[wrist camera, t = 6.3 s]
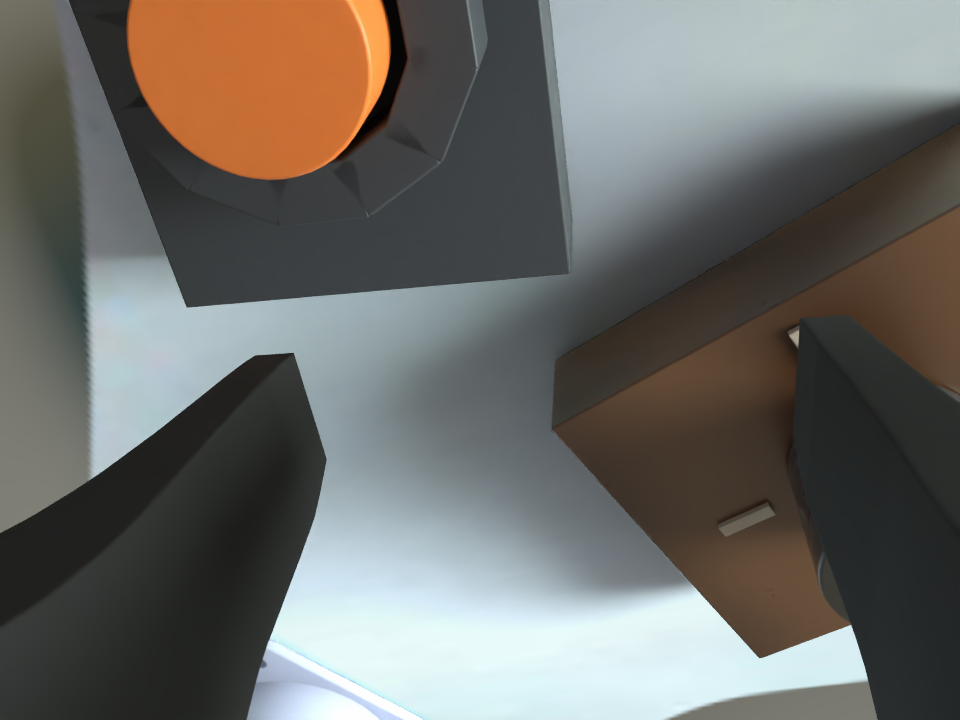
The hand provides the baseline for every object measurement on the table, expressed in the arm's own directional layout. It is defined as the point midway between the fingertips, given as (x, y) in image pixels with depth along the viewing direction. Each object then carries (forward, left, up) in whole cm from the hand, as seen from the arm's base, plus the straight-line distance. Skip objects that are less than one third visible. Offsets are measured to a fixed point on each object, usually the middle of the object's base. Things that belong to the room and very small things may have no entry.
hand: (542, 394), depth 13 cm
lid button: (0, +6, -5) cm, 8 cm away
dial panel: (0, -10, -9) cm, 14 cm away
